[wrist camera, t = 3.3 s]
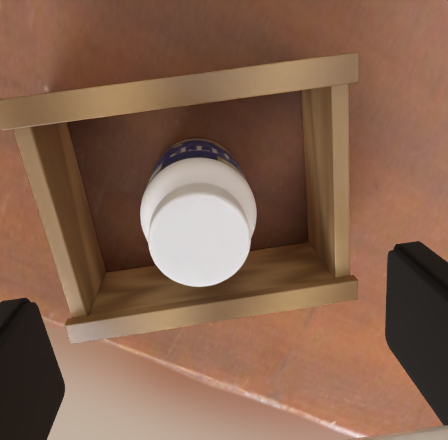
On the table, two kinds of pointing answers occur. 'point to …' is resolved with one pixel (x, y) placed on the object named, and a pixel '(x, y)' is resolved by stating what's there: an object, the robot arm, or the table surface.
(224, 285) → the wooden box
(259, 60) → the table surface
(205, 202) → the pill bottle
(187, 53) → the table surface
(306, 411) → the table surface
